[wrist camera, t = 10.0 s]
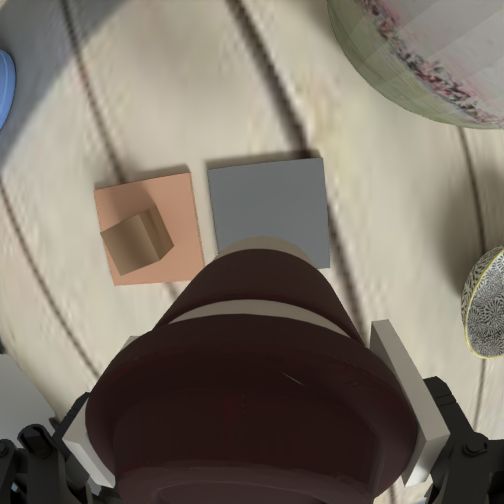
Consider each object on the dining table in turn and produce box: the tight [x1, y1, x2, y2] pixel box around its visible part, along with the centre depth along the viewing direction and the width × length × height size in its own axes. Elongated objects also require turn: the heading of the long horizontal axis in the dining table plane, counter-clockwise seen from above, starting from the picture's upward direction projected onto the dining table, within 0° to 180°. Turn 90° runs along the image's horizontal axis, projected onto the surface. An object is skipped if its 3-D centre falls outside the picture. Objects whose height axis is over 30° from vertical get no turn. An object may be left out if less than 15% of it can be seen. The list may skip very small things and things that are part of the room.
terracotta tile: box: [94, 172, 205, 286], centre depth 35 cm, size 12×12×1 cm
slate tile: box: [207, 158, 330, 269], centre depth 34 cm, size 12×12×1 cm
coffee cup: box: [85, 236, 417, 504], centre depth 13 cm, size 10×10×15 cm
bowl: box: [461, 245, 504, 359], centre depth 31 cm, size 16×16×8 cm
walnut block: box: [100, 205, 174, 276], centre depth 32 cm, size 5×5×5 cm
